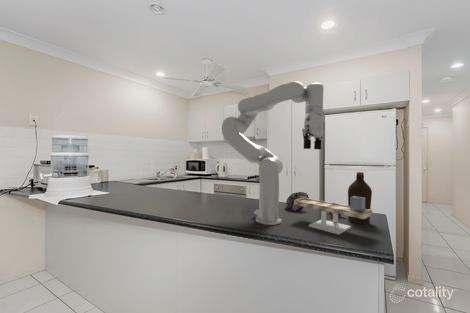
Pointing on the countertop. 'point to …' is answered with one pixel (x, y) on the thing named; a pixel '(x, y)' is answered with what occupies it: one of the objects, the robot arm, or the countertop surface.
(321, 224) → the trestle
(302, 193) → the decorative flower
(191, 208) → the countertop surface
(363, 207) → the iron weight
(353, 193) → the olive oil
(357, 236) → the countertop surface
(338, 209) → the beam
